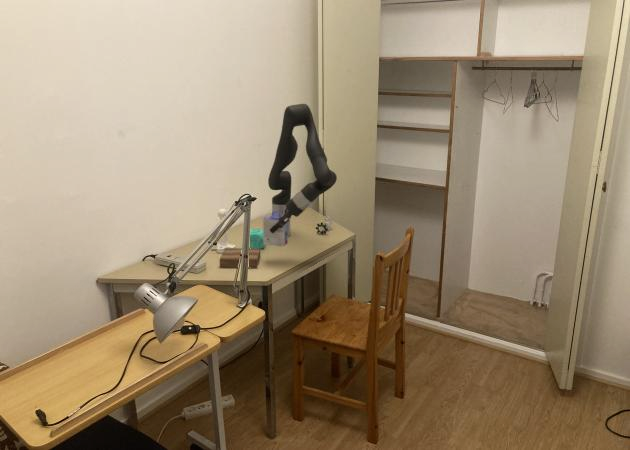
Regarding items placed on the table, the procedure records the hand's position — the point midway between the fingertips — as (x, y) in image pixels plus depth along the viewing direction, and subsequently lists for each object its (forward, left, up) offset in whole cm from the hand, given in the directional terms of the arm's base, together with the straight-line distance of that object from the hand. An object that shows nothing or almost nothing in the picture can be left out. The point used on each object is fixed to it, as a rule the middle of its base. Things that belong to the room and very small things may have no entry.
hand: (271, 229), depth 233 cm
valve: (-45, +24, -16) cm, 53 cm away
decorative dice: (-20, -9, -16) cm, 27 cm away
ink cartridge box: (0, +2, -7) cm, 7 cm away
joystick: (-14, -24, -16) cm, 32 cm away
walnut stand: (+1, -14, -15) cm, 21 cm away
